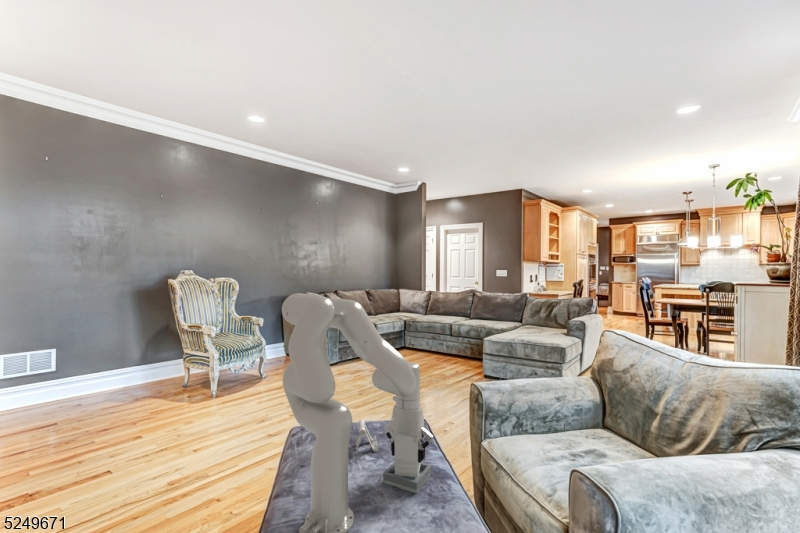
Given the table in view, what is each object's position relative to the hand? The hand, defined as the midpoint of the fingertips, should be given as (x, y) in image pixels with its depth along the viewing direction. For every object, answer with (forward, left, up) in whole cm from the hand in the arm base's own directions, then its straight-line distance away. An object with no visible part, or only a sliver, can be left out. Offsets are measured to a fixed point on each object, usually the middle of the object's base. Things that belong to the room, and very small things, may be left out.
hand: (407, 457), depth 119 cm
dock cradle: (0, 0, -7) cm, 7 cm away
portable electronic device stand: (+12, +23, -7) cm, 27 cm away
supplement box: (0, 0, -5) cm, 5 cm away
